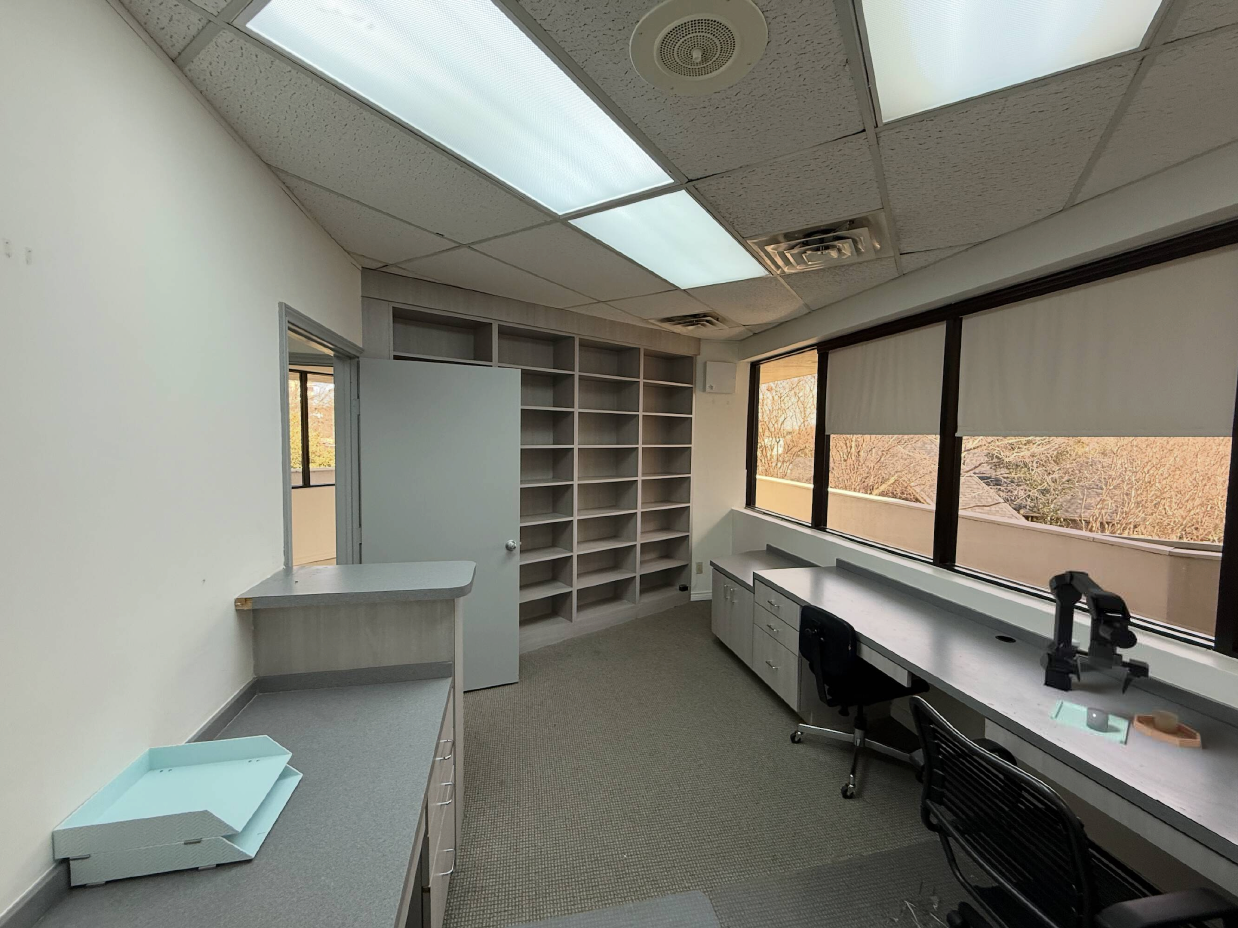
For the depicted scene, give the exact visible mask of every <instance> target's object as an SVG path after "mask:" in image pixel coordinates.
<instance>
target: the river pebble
mask: <svg viewBox="0 0 1238 928" xmlns="http://www.w3.org/2000/svg"><path fill="white" fill-rule="evenodd" d="M1154 716H1155V717H1154V728H1155V729H1157V730H1159V731H1161V732H1164V733H1167V734H1172V735H1176V734H1177V728H1178V723H1179V716H1178V715H1177V714H1175V713H1174V712H1171V711H1168V710H1165V709H1154Z"/></svg>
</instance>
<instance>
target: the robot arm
mask: <svg viewBox="0 0 1238 928" xmlns="http://www.w3.org/2000/svg"><path fill="white" fill-rule="evenodd" d="M1048 586H1049V589H1050V594H1051V595H1052V596H1053V598H1054V600H1055V613H1054V624H1053V625H1054V627H1053V637H1052V638H1053V639H1052V641H1051V642H1050V643H1049V644H1048V645H1047V646H1046V648H1045V649H1046V650H1045V652H1044V653H1043V655H1041V657H1040V658H1039V664H1040V667H1042V668H1043V669H1044V670H1045V671H1044V682H1043V686H1046V687H1048V688H1052V689H1055V690H1059V691H1062V692H1066V693H1069V692H1070V691H1072V689H1073V676H1072V675H1074V676H1076V679H1077V682H1078V683H1080V682H1081V680H1082V672H1081V658H1084V659H1088V664H1089V665H1091V666H1094V667H1099V668H1103V669H1105V670H1112V669H1113V666H1114V667H1120V668H1123V669H1127V670H1126V672H1125V676H1124V680H1123V683H1122V687H1121V688H1122V689H1121V694H1122V695H1124V694H1126V692H1127V689H1128V688H1129V686H1130V684H1131V683H1132V682H1133V681H1134V680H1135V679H1142V677H1143V678H1149V674H1150V664H1149V663H1148V662H1147V661H1142V660H1138V659H1133V658H1129V660H1128V661H1126V660H1123V657H1124V654H1122V653H1118V648H1119V649H1121V650H1122V649H1123V650H1127V649H1131V648H1134V647H1135V646H1136V644H1137V643H1138V636H1137V635H1136V634H1135V633H1134V631H1132V630H1131V629H1129V624H1131V622H1132V621H1131V618H1132V615H1131V613H1130V611H1129V609H1128V606H1127V604H1126V602H1125V600H1124V599H1123V597H1121V596H1120V595H1119V594H1117V593H1115V592H1113V591H1108V590H1105V589H1103V588H1102V587H1101V586H1100V585H1099V584H1098V583H1097V582H1096V581H1094V580H1093V579H1092V578H1091V577H1090V576H1089V573H1088V572H1085V571H1079V570H1066V571H1065V572H1064V573H1063V572H1062V573H1060V574H1056V575H1054V576H1052V577H1051V578H1050V579H1049V582H1048ZM1082 597H1085V604H1086V606H1087V608H1088V611H1089V613H1088V614H1089V616H1091V618H1090V631H1089V645H1088V647H1087V651H1085V650H1081V649H1080V650H1078V646H1075V645H1072V638H1073V630H1074V619H1075V618H1074V617H1075V606H1076V604H1078V603H1079V602H1080V601H1081V600H1082V599H1083V598H1082Z"/></svg>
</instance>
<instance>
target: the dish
mask: <svg viewBox="0 0 1238 928" xmlns="http://www.w3.org/2000/svg"><path fill="white" fill-rule="evenodd" d="M1154 717H1155V714H1137V713H1134V718H1133V726H1132V727H1133V728H1135V729H1136V730H1138V731H1139V732H1141V733H1143V734H1145V735H1147V736H1149V737H1150V738H1152V739H1155V740H1158V741H1162V742H1165V743H1168V744H1171V745H1174V746H1178V747H1185V748H1186V747H1187V748H1201V747H1200V745H1201V734H1200V733H1199V732H1197V731H1196V730H1194V729H1192V728H1190V727H1188V726H1186V725H1184V724H1182V723H1180V722H1178V728H1177V734H1176V735H1172V734H1167V733H1164V732H1161V731H1159V730H1157V729H1155V728H1154Z"/></svg>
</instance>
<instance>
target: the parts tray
mask: <svg viewBox="0 0 1238 928" xmlns="http://www.w3.org/2000/svg"><path fill="white" fill-rule="evenodd" d="M1087 708H1088V707H1087V706H1083V705H1079V704H1077V703H1074V702H1070V701H1066V700H1064V699H1060V698H1058V699H1057V701H1056V703H1055V705H1054V708H1053V710H1052V712H1051V714H1050V716H1049V720H1050V721H1052V722H1056V723H1059V724H1061V725H1064V726H1068V727H1071V728H1074V729H1076V730H1079V731H1083V732H1085V733H1089V734H1091V735H1094V736H1098V737H1101V738H1104V739H1107V740H1110V741H1113V742H1116V743H1119V744H1122V745H1125V744H1126V739H1127V735H1128V734H1127V733H1128V728H1129V721H1130V720H1128V719H1125V718H1122V717H1119V716H1116V715H1113V714H1109V713H1108V714H1109V720H1108V732H1106V733H1103V732H1098V731H1095V730H1092V729H1090V728H1089V727H1087V726H1086V720H1087Z"/></svg>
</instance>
